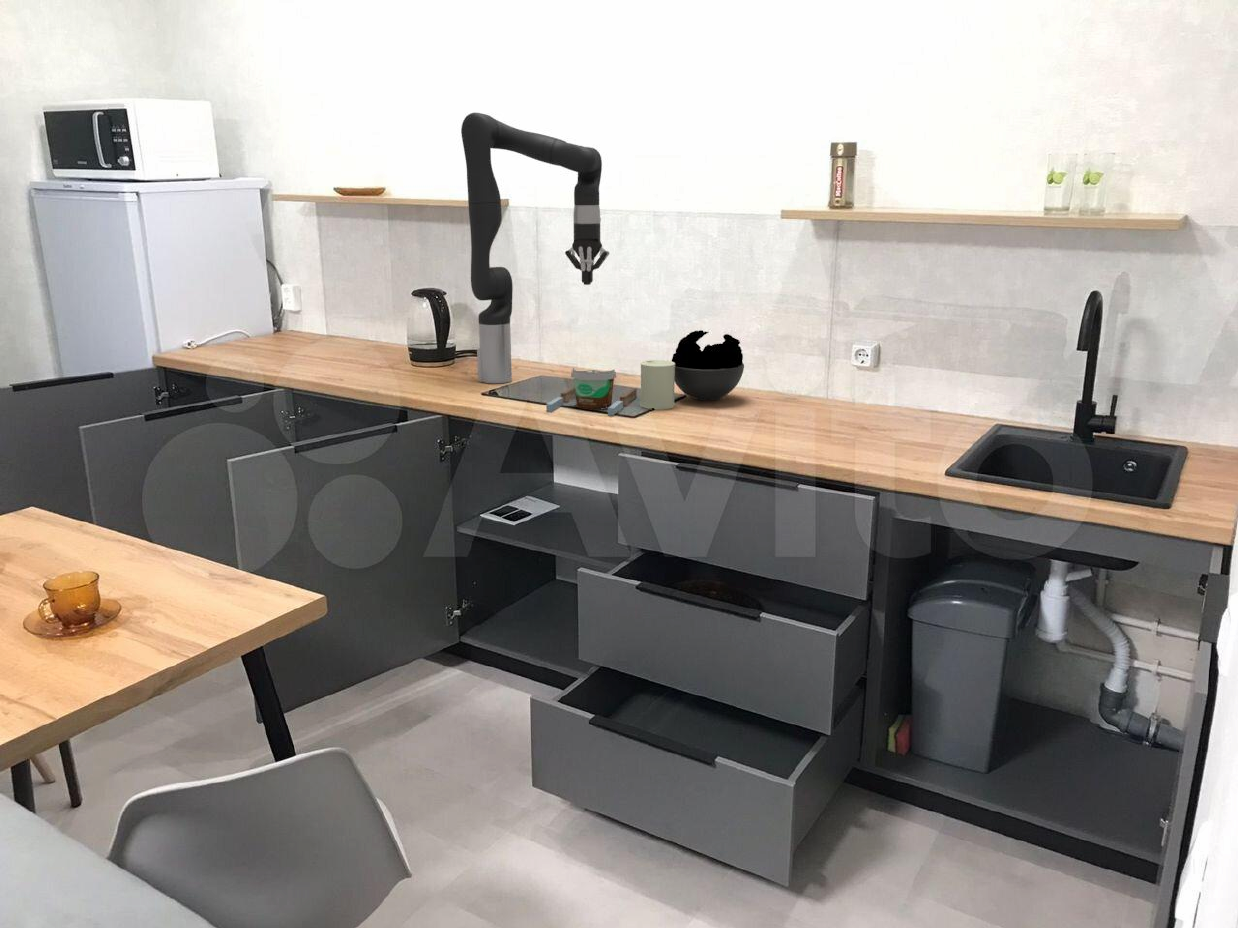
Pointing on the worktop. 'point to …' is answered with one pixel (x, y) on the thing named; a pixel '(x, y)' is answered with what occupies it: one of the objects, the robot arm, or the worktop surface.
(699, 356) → the coal bowl
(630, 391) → the walnut channel
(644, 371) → the can
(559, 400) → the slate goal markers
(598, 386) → the food container
